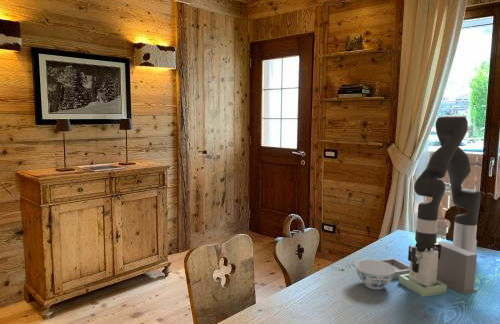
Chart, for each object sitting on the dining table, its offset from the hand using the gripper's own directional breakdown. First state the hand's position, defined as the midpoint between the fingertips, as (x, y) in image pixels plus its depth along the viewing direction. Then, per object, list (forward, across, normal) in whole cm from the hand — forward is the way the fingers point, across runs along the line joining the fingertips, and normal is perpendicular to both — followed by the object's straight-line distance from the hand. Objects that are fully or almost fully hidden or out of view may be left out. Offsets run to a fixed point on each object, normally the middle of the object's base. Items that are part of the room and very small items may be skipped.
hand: (423, 270), depth 150 cm
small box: (+5, 0, 0) cm, 5 cm away
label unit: (+7, -14, +1) cm, 16 cm away
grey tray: (+7, 0, -16) cm, 17 cm away
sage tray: (+7, 0, 0) cm, 7 cm away
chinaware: (+7, +17, -7) cm, 20 cm away
